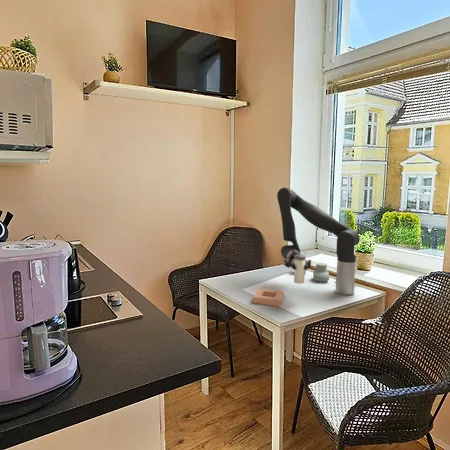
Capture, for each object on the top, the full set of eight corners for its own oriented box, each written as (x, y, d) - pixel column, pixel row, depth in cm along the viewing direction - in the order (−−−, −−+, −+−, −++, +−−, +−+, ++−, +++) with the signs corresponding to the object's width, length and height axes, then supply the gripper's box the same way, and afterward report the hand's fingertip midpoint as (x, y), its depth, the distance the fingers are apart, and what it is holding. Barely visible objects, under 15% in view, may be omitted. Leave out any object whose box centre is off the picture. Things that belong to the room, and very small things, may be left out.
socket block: (284, 296, 187) (284, 291, 186) (280, 306, 175) (280, 300, 174) (258, 294, 191) (259, 288, 190) (253, 303, 178) (253, 297, 178)
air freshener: (312, 277, 220) (313, 261, 218) (327, 278, 218) (328, 261, 217) (313, 283, 209) (314, 266, 207) (328, 284, 208) (329, 266, 206)
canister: (305, 280, 178) (305, 254, 176) (304, 284, 173) (304, 257, 171) (294, 279, 180) (294, 254, 178) (293, 283, 175) (293, 256, 173)
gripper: (281, 251, 189) (285, 260, 172) (309, 251, 189) (316, 260, 172) (281, 265, 190) (285, 275, 173) (308, 265, 190) (315, 275, 173)
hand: (300, 267), depth 173 cm, fingers closed on canister, 4 cm apart
